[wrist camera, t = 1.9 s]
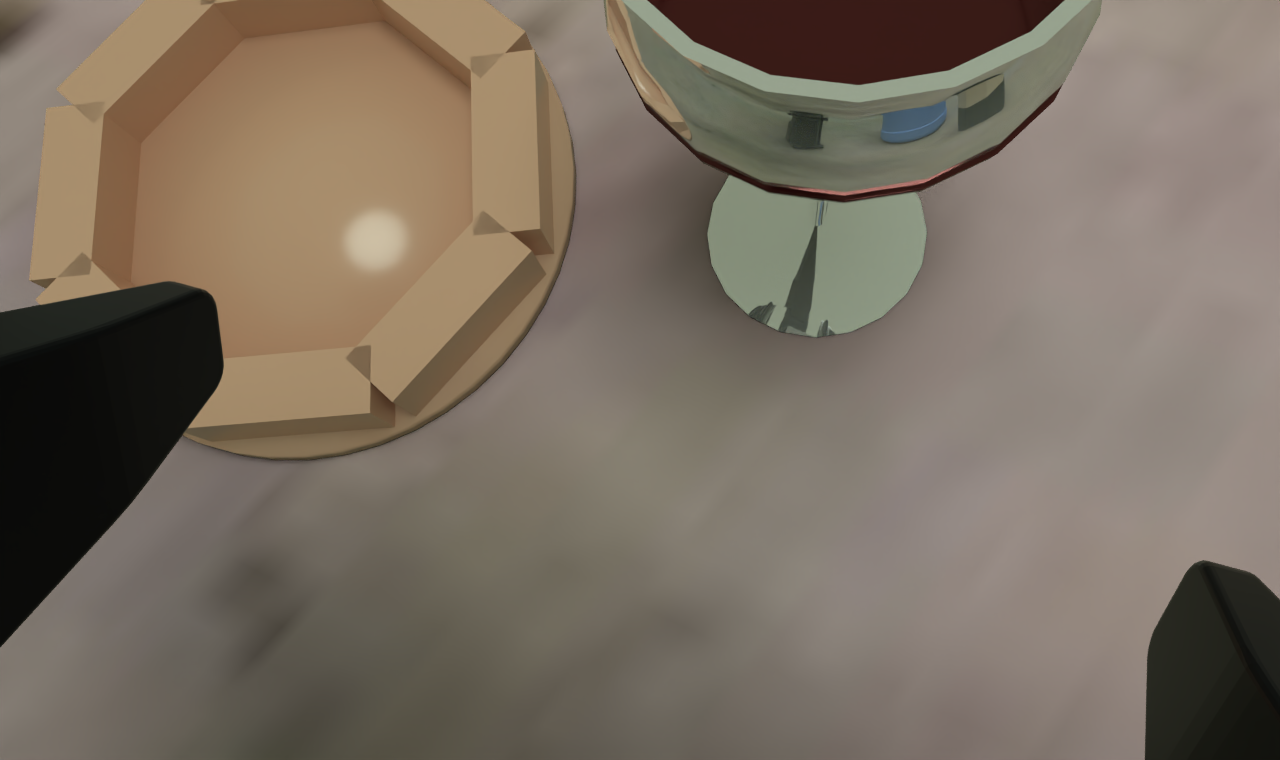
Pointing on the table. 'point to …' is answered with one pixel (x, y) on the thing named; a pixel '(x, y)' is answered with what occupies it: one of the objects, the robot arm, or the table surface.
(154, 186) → the coaster
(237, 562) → the table surface
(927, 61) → the wineglass
